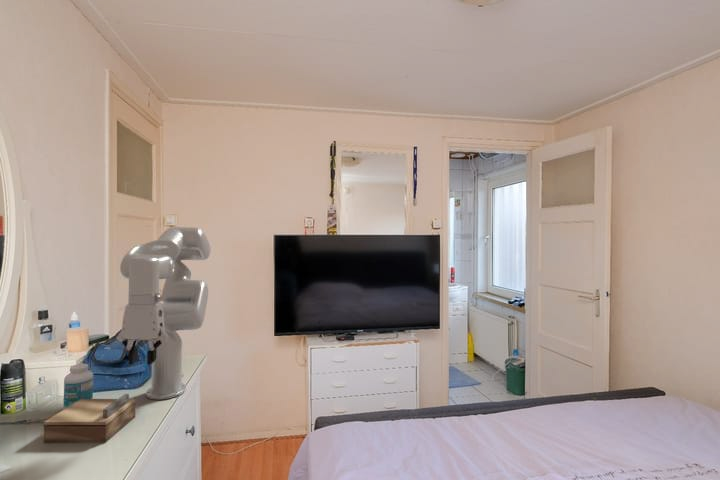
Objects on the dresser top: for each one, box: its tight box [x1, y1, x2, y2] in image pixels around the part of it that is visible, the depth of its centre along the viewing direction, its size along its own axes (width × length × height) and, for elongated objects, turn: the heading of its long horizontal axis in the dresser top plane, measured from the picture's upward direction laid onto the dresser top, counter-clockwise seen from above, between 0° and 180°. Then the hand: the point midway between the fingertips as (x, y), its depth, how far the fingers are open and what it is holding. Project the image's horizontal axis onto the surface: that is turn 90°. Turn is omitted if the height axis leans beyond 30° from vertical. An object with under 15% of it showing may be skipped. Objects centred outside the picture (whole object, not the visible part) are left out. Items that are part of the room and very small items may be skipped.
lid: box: [43, 393, 136, 426], centre depth 105 cm, size 14×16×3 cm
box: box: [43, 402, 136, 444], centre depth 105 cm, size 14×16×4 cm
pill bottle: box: [63, 363, 94, 410], centre depth 118 cm, size 8×7×14 cm
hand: (142, 362), depth 106 cm, fingers open, 4 cm apart
